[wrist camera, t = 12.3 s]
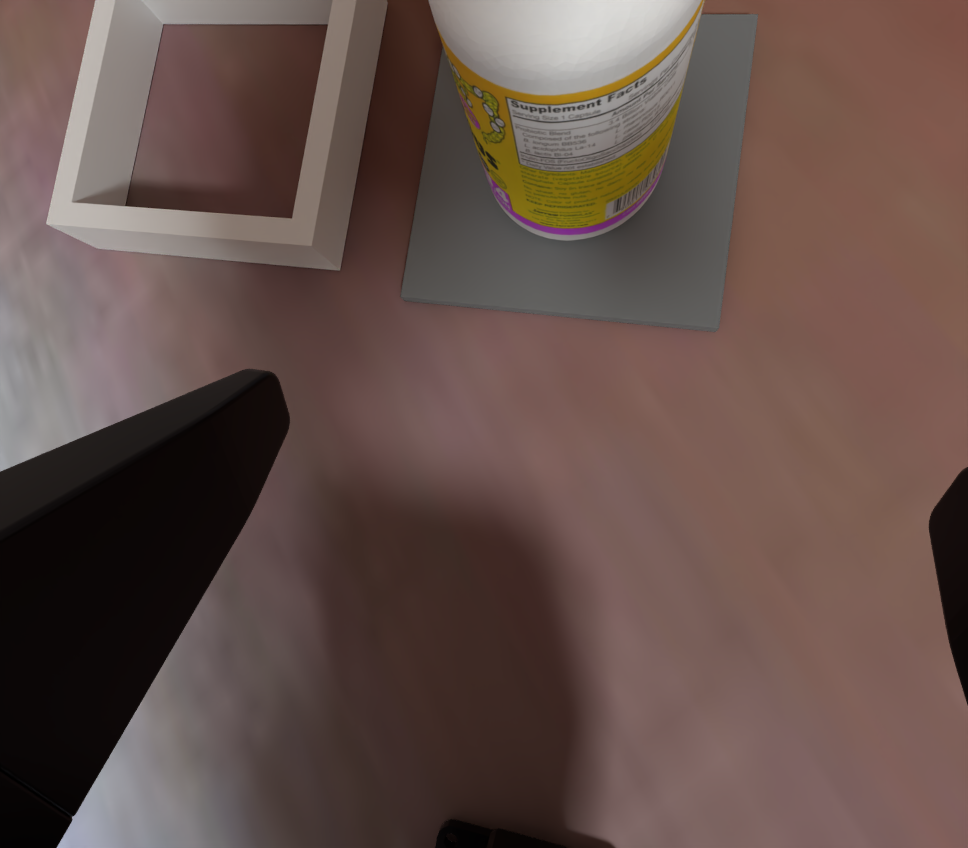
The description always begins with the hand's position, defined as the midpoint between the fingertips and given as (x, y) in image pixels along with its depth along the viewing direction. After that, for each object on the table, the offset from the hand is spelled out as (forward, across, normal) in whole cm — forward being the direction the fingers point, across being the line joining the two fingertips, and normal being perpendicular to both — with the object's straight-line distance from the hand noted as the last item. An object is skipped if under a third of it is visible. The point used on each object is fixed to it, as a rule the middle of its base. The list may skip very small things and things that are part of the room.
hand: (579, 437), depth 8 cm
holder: (+18, +17, +1) cm, 25 cm away
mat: (+18, +2, +1) cm, 18 cm away
